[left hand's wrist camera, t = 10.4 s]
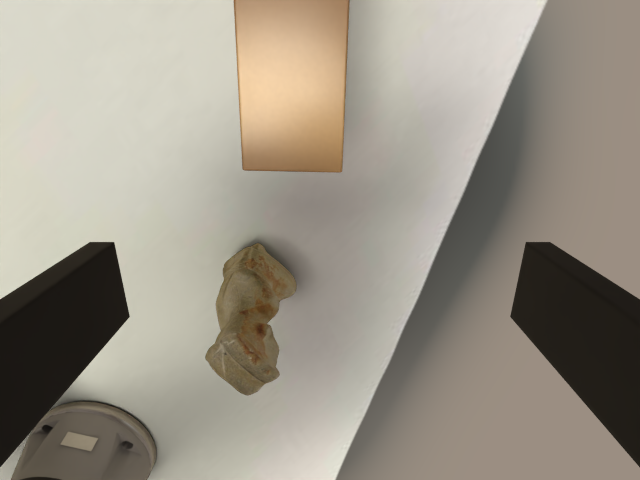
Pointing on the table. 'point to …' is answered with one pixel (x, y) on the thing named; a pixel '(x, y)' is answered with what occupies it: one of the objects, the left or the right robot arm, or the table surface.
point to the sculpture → (249, 319)
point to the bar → (292, 83)
